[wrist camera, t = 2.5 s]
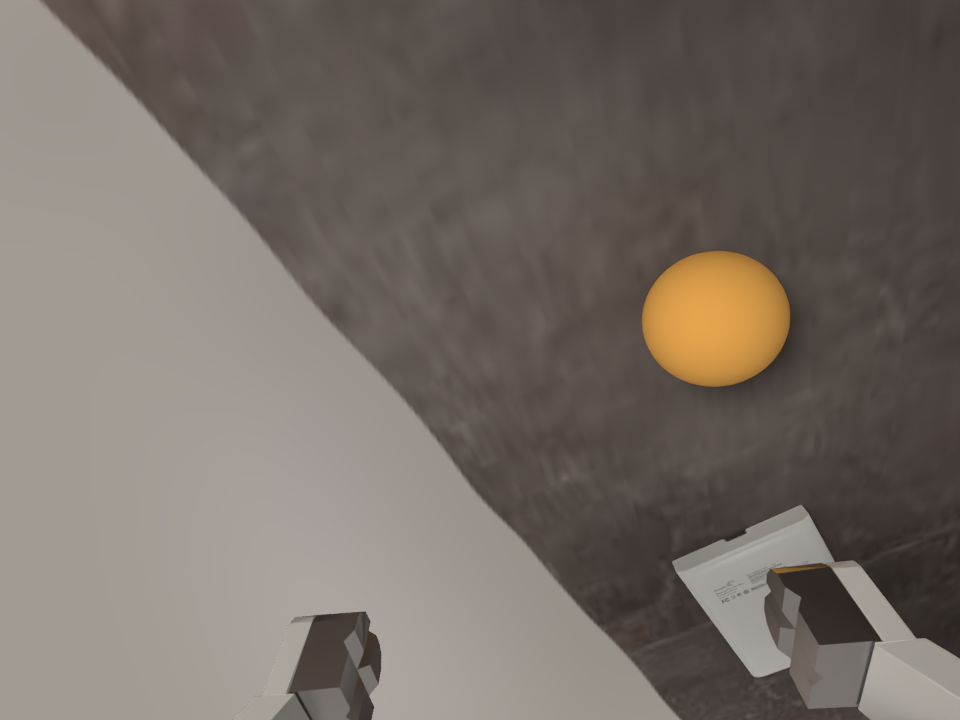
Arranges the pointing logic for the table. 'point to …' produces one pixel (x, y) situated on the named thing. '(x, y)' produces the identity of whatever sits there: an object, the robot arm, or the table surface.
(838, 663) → the robot arm
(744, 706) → the table surface
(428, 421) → the table surface
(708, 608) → the external hard drive
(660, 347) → the ball
